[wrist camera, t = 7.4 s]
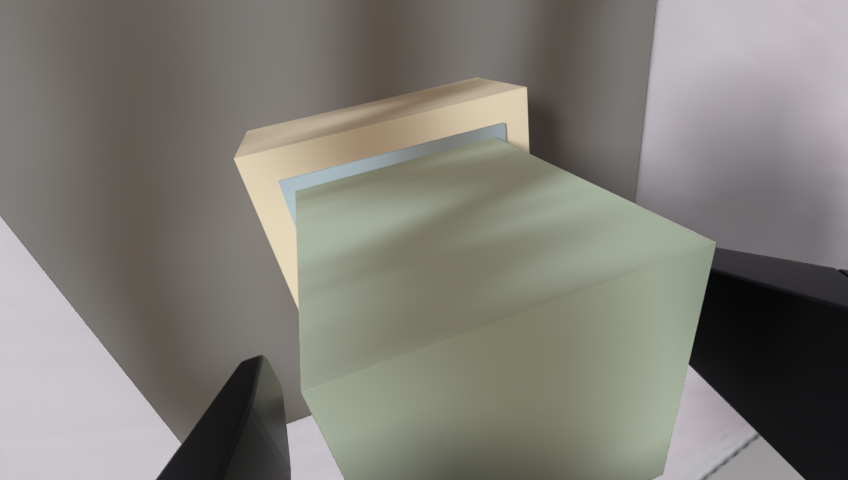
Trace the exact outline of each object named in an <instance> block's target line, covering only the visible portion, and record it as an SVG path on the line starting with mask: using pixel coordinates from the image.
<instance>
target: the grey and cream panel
mask: <svg viewBox="0 0 848 480" xmlns="http://www.w3.org/2000/svg"><path fill="white" fill-rule="evenodd" d="M656 1H657V0H0V216H1V217H2V219H3V220H4V221H5V222H6V224H7V225H8V226H9V227H10V229H11V230H12V231H13V232H14V234H15V235H16V236H17V238H18V239H19V240H20V241H21V243H22V244H23V245H24V246H25V248H26V249H27V250H28V251H29V253H30V254H31V255H32V256H33V258H34V259H35V260H36V261H37V263H38V264H39V265H40V266H41V268H42V269H43V270H44V271H45V273H46V274H47V275H48V276H49V278H50V279H51V280H52V281H53V283H54V284H55V285H56V287H57V288H58V289H59V290H60V292H61V293H62V294H63V295H64V297H65V298H66V299H67V300H68V302H69V303H70V304H71V305H72V307H73V308H74V309H75V310H76V312H77V313H78V314H79V315H80V317H81V318H82V319H83V320H84V322H85V323H86V324H87V325H88V327H89V328H90V329H91V330H92V332H93V333H94V334H95V336H96V337H97V338H98V339H99V341H100V342H101V343H102V344H103V346H104V347H105V348H106V349H107V351H108V352H109V353H110V354H111V356H112V357H113V358H114V359H115V361H116V362H117V363H118V364H119V366H120V367H121V368H122V369H123V371H124V372H125V373H126V374H127V376H128V377H129V378H130V379H131V381H132V382H133V383H134V385H135V386H136V387H137V388H138V390H139V391H140V392H141V393H142V395H143V396H144V397H145V398H146V400H147V401H148V402H149V403H150V405H151V406H152V407H153V408H154V410H155V411H156V412H157V413H158V415H159V416H160V417H161V418H162V420H163V421H164V422H165V423H166V425H167V426H168V427H169V428H170V430H171V431H172V432H173V434H174V435H175V436H176V437H177V439H178V440H179V441H180V442H181V444H182V443H183V441H184V440H185V439H186V437H187V436H188V435H189V433H190V432H191V430H192V429H193V428H194V426H195V425H196V423H197V422H198V421H199V419H200V418H201V416H202V415H203V414H204V412H205V411H206V410H207V408H208V407H209V405H210V404H211V403H212V401H213V400H214V398H215V397H216V396H217V394H218V393H219V392H220V390H221V389H222V387H223V386H224V385H225V383H226V382H227V380H228V379H229V378H230V376H231V375H232V374H233V372H234V371H235V369H236V368H237V367H238V365H239V364H240V363H241V362H242V361H244V360H246V359H249V358H252V357H255V356H258V355H264V356H265V357H266V358H267V359H268V361H269V363H270V365H271V366H272V368H273V370H274V372H275V374H276V376H277V378H278V380H279V382H280V384H281V387H282V391H283V399H284V408H285V418H286V424H288V423H291V422H294V421H296V420H299V419H302V418H305V417H307V416H310V415H312V413H311V411H310V409H309V407H308V405H307V403H306V401H305V399H304V397H303V395H302V393H301V376H300V341H299V306H298V271H297V235H296V200H295V191H297V190H301V189H304V188H308V187H312V186H315V185H319V184H323V183H326V182H330V181H334V180H338V179H341V178H345V177H349V176H352V175H356V174H360V173H363V172H367V171H371V170H375V169H378V168H382V167H386V166H389V165H393V164H397V163H400V162H404V161H408V160H412V159H415V158H419V157H423V156H426V155H430V154H434V153H437V152H441V151H445V150H449V149H452V148H456V147H460V146H463V145H467V144H471V143H474V142H478V141H482V140H485V139H489V138H493V137H495V138H497V139H499V140H501V141H503V142H505V143H508V144H510V145H512V146H514V147H516V148H518V149H520V150H522V151H524V152H527V153H529V154H531V155H533V156H535V157H537V158H539V159H541V160H544V161H546V162H548V163H550V164H552V165H554V166H556V167H558V168H561V169H563V170H565V171H567V172H569V173H571V174H573V175H575V176H577V177H580V178H582V179H584V180H586V181H588V182H590V183H592V184H594V185H597V186H599V187H601V188H603V189H605V190H607V191H609V192H611V193H613V194H616V195H618V196H620V197H622V198H624V199H626V200H628V201H630V202H633V203H635V195H636V186H637V177H638V167H639V158H640V149H641V140H642V130H643V121H644V112H645V102H646V93H647V84H648V75H649V65H650V56H651V47H652V38H653V28H654V19H655V10H656Z"/></svg>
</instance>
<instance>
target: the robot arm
mask: <svg viewBox="0 0 848 480" xmlns="http://www.w3.org/2000/svg"><path fill="white" fill-rule="evenodd" d="M689 365H690V366H691V367H692V368H693V369H694V370H695V371H696V372H697V373H698V374H699V375H700V376H701V377H702V378H703V379H704V380H705V381H706V382H707V383H708V384H709V385H710V386H711V387H712V388H713V389H714V390H715V391H716V392H717V393H718V394H719V395H720V396H721V397H722V398H723V399H724V400H725V401H726V402H727V403H728V404H729V405H730V406H731V407H732V408H733V409H734V410H735V411H736V412H737V413H738V414H739V415H740V416H742V417H743V418H744V419H745V420H746V421H747V422H748V423H749V424H750V425H751V426H752V427H753V428H754V429H755V430H756V431H757V432H758V433H759V434H760V435H761V436H762V437H763V438H764V439H765V440H766V441H767V442H768V443H769V444H770V445H771V446H772V447H773V448H774V449H775V450H776V451H777V452H778V453H779V454H780V455H781V456H782V457H783V458H784V459H785V460H786V461H787V462H788V463H789V464H790V465H791V466H792V467H793V468H794V469H795V470H796V471H797V472H798V473H799V474H800V475H801V476H802V477H803V478H804V479H805V480H848V270H843V269H839V270H836V269H835V268H831V267H825V266H819V265H814V264H808V263H802V262H796V261H791V260H785V259H779V258H773V257H768V256H762V255H756V254H750V253H745V252H739V251H733V250H727V249H722V248H716V247H715V251H714V256H713V260H712V264H711V269H710V273H709V277H708V282H707V286H706V290H705V295H704V299H703V303H702V308H701V312H700V316H699V321H698V325H697V329H696V334H695V338H694V342H693V346H692V351H691V355H690V359H689ZM156 480H291V467H290V456H289V446H288V437H287V427H286V418H285V408H284V399H283V391H282V387H281V384H280V382H279V380H278V378H277V376H276V374H275V372H274V370H273V368H272V366H271V365H270V363H269V361H268V359H267V358H266V357H265V356H264V355H258V356H255V357H252V358H249V359H246V360H244V361H242V362H241V363H240V364H239V365H238V367H237V368H236V369H235V371H234V372H233V374H232V375H231V376H230V378H229V379H228V380H227V382H226V383H225V385H224V386H223V387H222V389H221V390H220V392H219V393H218V394H217V396H216V397H215V398H214V400H213V401H212V403H211V404H210V405H209V407H208V408H207V410H206V411H205V412H204V414H203V415H202V416H201V418H200V419H199V421H198V422H197V423H196V425H195V426H194V428H193V429H192V430H191V432H190V433H189V435H188V436H187V437H186V439H185V440H184V441H183V443H182V444H181V446H180V447H179V448H178V450H177V451H176V453H175V454H174V455H173V457H172V458H171V459H170V461H169V462H168V464H167V465H166V466H165V468H164V469H163V471H162V472H161V473H160V475H159V476H158V477H157V479H156Z"/></svg>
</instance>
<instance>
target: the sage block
mask: <svg viewBox="0 0 848 480" xmlns="http://www.w3.org/2000/svg"><path fill="white" fill-rule="evenodd" d="M295 200H296V235H297V271H298V306H299V341H300V376H301V393H302V395H303V397H304V399H305V401H306V403H307V405H308V407H309V409H310V411H311V413H312V415H313V417H314V419H315V421H316V423H317V425H318V427H319V429H320V431H321V433H322V435H323V437H324V439H325V441H326V443H327V445H328V447H329V449H330V451H331V453H332V455H333V457H334V459H335V461H336V463H337V465H338V467H339V469H340V471H341V473H342V475H343V477H344V479H345V480H652V479H654V478H656V477H658V476H660V475H663V472H664V468H665V463H666V459H667V455H668V450H669V446H670V442H671V437H672V433H673V429H674V424H675V420H676V416H677V411H678V407H679V403H680V398H681V394H682V390H683V385H684V381H685V377H686V372H687V368H688V364H689V359H690V355H691V351H692V346H693V342H694V338H695V334H696V329H697V325H698V321H699V316H700V312H701V308H702V303H703V299H704V295H705V290H706V286H707V282H708V277H709V273H710V269H711V264H712V260H713V256H714V251H715V247H716V243H717V242H715V241H713V240H711V239H709V238H707V237H705V236H702V235H700V234H698V233H696V232H694V231H692V230H690V229H688V228H686V227H683V226H681V225H679V224H677V223H675V222H673V221H671V220H669V219H666V218H664V217H662V216H660V215H658V214H656V213H654V212H652V211H650V210H647V209H645V208H643V207H641V206H639V205H637V204H635V203H633V202H630V201H628V200H626V199H624V198H622V197H620V196H618V195H616V194H613V193H611V192H609V191H607V190H605V189H603V188H601V187H599V186H597V185H594V184H592V183H590V182H588V181H586V180H584V179H582V178H580V177H577V176H575V175H573V174H571V173H569V172H567V171H565V170H563V169H561V168H558V167H556V166H554V165H552V164H550V163H548V162H546V161H544V160H541V159H539V158H537V157H535V156H533V155H531V154H529V153H527V152H524V151H522V150H520V149H518V148H516V147H514V146H512V145H510V144H508V143H505V142H503V141H501V140H499V139H497V138H495V137H493V138H489V139H485V140H482V141H478V142H474V143H471V144H467V145H463V146H460V147H456V148H452V149H449V150H445V151H441V152H437V153H434V154H430V155H426V156H423V157H419V158H415V159H412V160H408V161H404V162H400V163H397V164H393V165H389V166H386V167H382V168H378V169H375V170H371V171H367V172H363V173H360V174H356V175H352V176H349V177H345V178H341V179H338V180H334V181H330V182H326V183H323V184H319V185H315V186H312V187H308V188H304V189H301V190H297V191H295Z"/></svg>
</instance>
